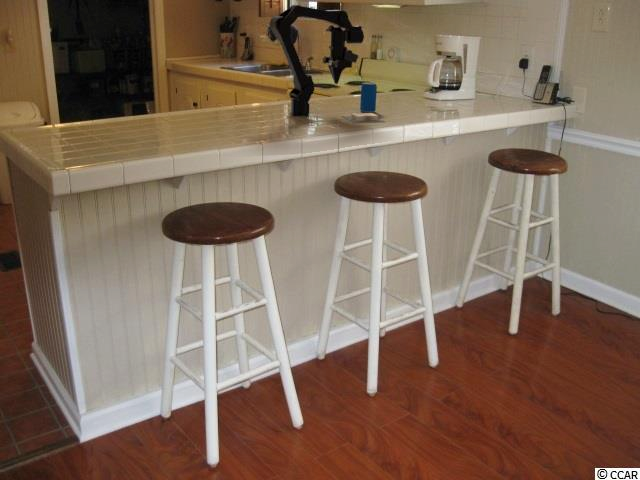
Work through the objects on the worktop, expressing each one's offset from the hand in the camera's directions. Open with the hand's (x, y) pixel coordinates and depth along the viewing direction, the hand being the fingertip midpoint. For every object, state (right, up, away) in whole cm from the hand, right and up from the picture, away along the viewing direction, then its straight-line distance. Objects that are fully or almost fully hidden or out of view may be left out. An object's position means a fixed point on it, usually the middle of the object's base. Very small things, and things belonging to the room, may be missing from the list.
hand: (336, 83), depth 257 cm
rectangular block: (+10, -14, -7) cm, 19 cm away
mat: (+10, -16, -8) cm, 21 cm away
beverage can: (+13, -10, +10) cm, 19 cm away
